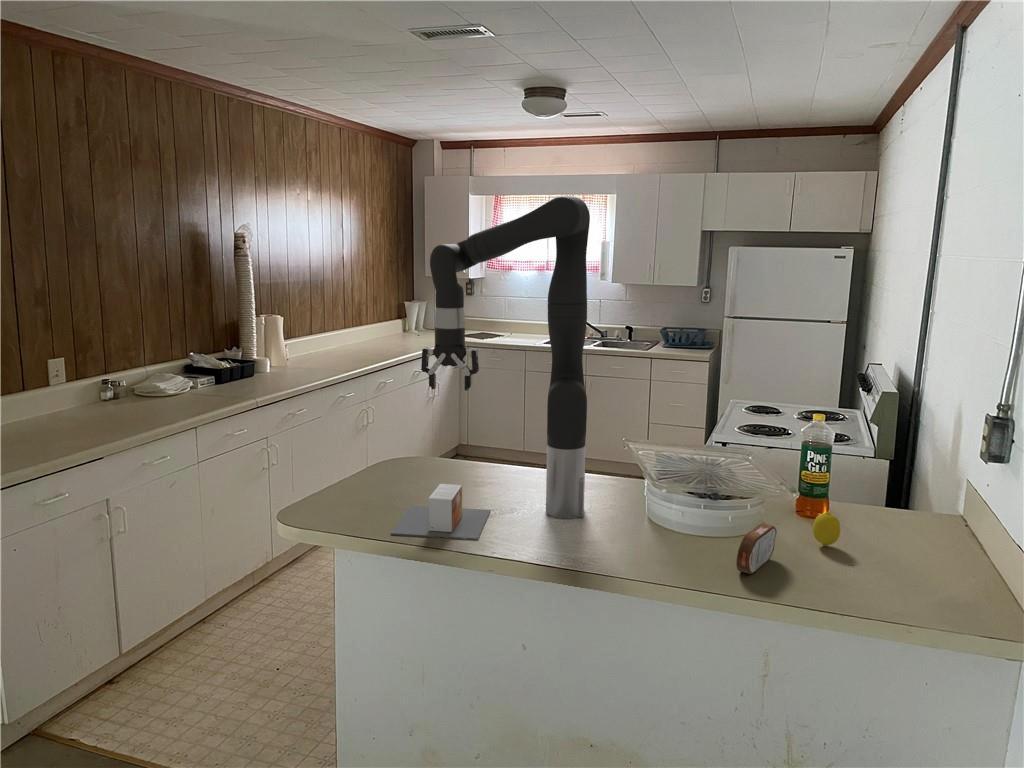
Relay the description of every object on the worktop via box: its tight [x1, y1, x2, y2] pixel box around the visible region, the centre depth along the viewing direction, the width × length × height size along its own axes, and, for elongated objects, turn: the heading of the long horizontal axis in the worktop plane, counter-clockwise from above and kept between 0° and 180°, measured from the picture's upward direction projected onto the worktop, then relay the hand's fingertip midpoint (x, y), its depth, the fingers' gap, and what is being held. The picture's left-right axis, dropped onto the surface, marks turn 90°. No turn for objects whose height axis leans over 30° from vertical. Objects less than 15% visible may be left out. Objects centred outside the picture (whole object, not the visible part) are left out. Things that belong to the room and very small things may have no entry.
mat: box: [390, 505, 491, 540], centre depth 179 cm, size 20×18×1 cm
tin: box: [735, 521, 777, 575], centre depth 156 cm, size 15×3×8 cm, turn 141°
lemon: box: [812, 511, 841, 547], centre depth 166 cm, size 6×6×8 cm
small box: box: [427, 483, 463, 532], centre depth 176 cm, size 8×6×10 cm
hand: (450, 389), depth 192 cm, fingers open, 8 cm apart
